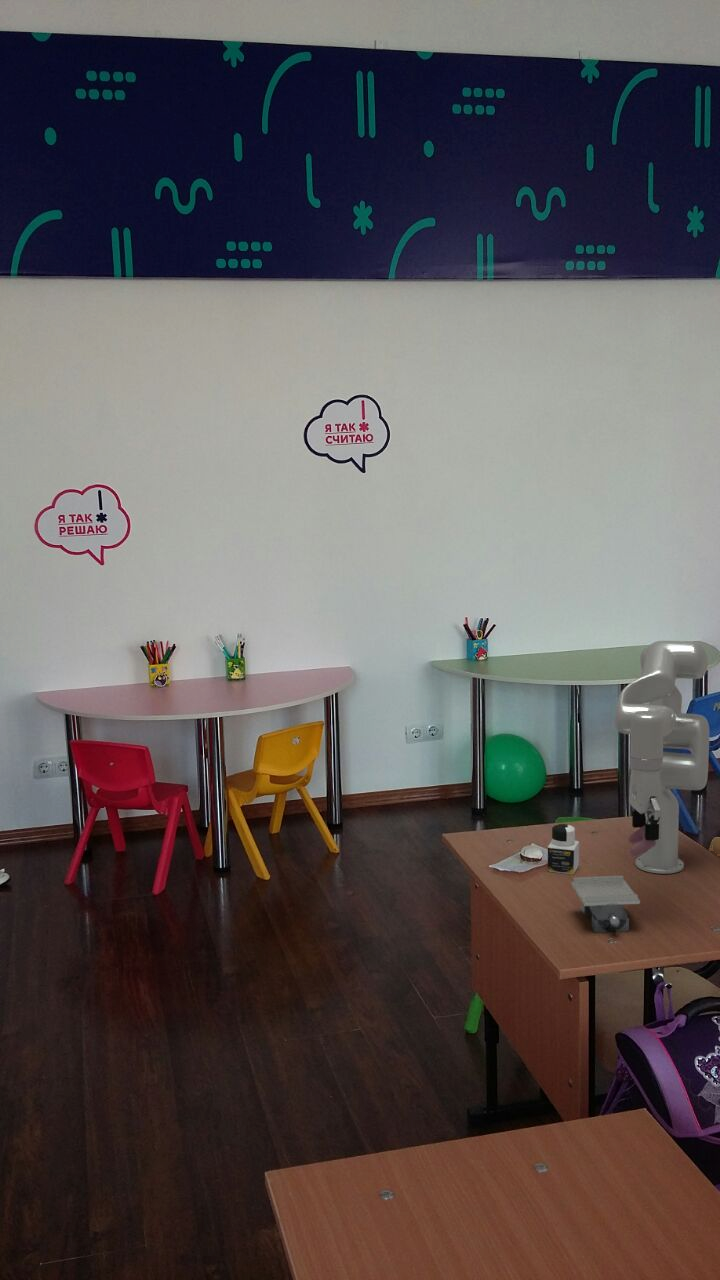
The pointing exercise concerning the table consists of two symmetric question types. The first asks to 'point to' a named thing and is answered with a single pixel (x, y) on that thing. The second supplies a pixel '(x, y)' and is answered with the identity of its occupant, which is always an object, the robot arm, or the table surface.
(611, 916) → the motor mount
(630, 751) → the robot arm
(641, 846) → the video game controller
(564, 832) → the medicine bottle
